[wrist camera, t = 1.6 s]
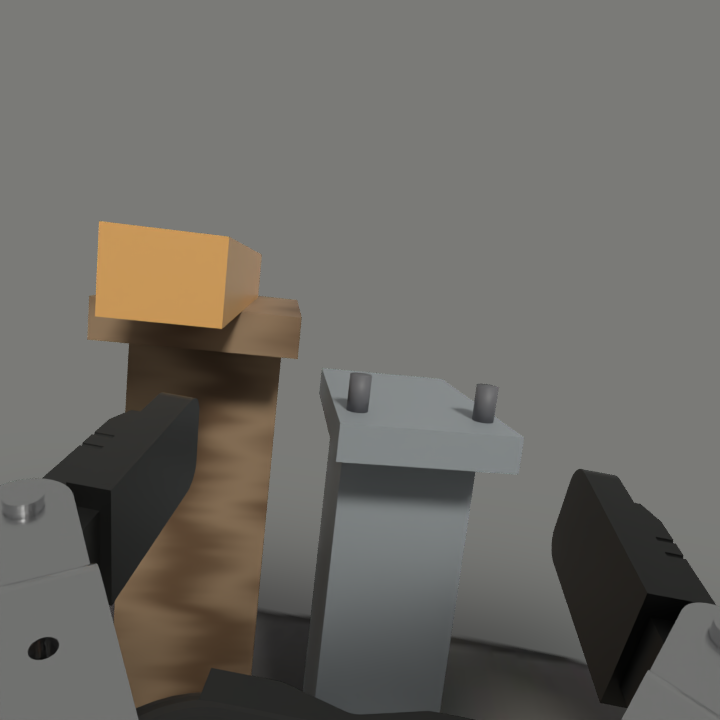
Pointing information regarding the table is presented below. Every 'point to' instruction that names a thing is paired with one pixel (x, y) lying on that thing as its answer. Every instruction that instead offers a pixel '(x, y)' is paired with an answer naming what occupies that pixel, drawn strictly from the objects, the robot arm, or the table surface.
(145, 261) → the orange bar
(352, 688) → the tall gray pegged stand
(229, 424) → the tall walnut stand
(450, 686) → the table surface
